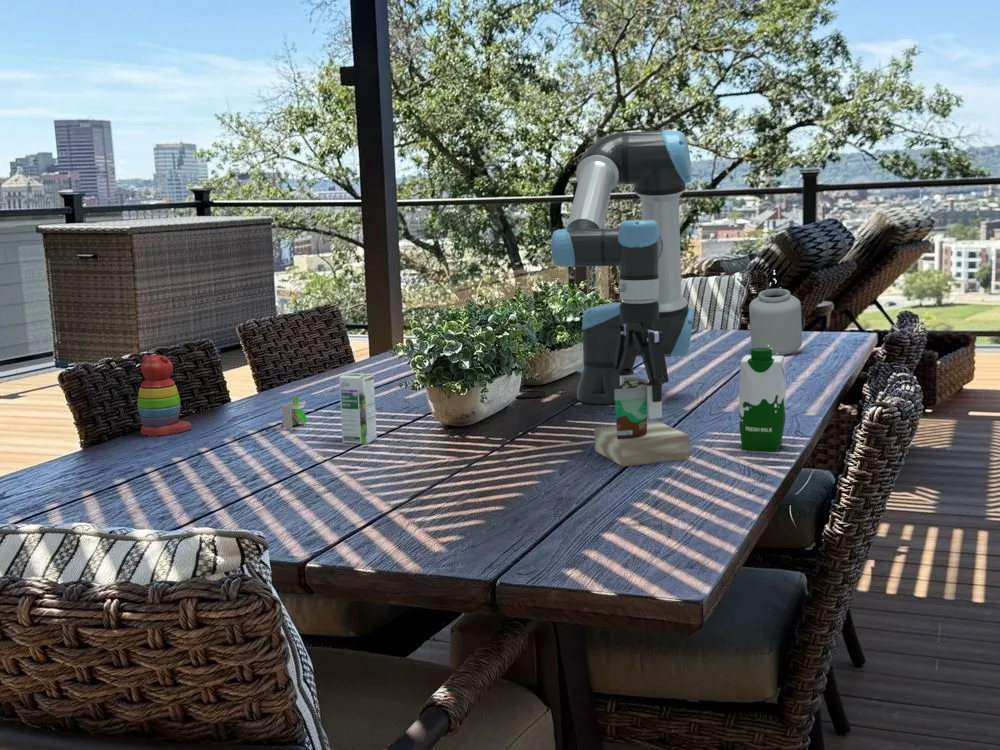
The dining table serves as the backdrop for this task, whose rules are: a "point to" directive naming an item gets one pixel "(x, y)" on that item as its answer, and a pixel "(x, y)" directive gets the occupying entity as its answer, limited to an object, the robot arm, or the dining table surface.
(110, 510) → the dining table surface
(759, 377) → the milk carton
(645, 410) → the food container
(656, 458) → the birch riser block
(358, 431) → the syrup box
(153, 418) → the stacking bear
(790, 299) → the jar
